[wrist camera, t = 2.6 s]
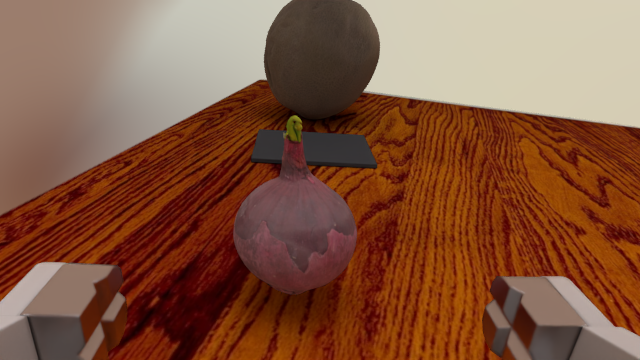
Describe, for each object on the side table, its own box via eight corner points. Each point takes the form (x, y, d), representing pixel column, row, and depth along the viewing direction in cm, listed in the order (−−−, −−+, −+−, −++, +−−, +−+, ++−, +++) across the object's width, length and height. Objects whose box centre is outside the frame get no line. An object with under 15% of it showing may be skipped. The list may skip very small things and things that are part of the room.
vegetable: (233, 261, 25) (231, 95, 21) (333, 256, 26) (350, 99, 22) (234, 337, 20) (232, 134, 16) (360, 326, 21) (388, 135, 17)
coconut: (349, 140, 48) (365, -4, 42) (242, 118, 52) (242, -14, 46) (382, 113, 60) (398, -2, 54) (293, 97, 64) (298, -10, 58)
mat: (251, 162, 40) (251, 158, 40) (258, 132, 48) (258, 129, 48) (376, 168, 41) (377, 164, 40) (363, 138, 49) (363, 135, 49)
